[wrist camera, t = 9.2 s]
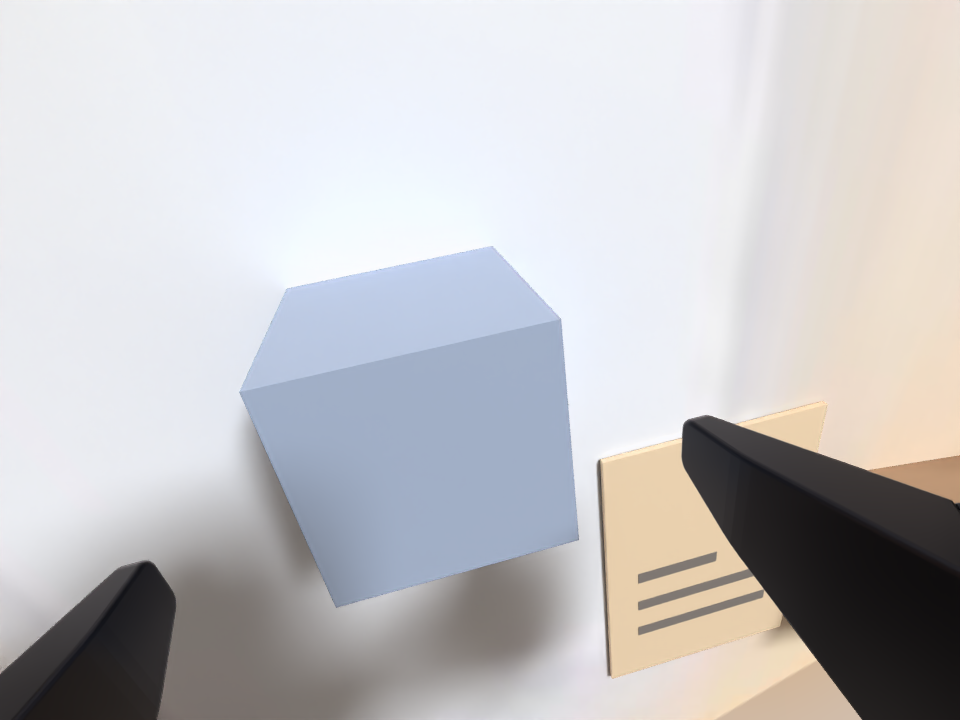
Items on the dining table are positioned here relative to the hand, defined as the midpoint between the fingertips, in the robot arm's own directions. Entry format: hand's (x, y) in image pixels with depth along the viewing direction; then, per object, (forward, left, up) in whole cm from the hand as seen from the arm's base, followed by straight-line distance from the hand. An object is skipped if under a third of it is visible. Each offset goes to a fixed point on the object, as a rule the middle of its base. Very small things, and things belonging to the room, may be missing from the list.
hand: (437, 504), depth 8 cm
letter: (-11, -9, -5) cm, 15 cm away
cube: (0, 0, -6) cm, 6 cm away
